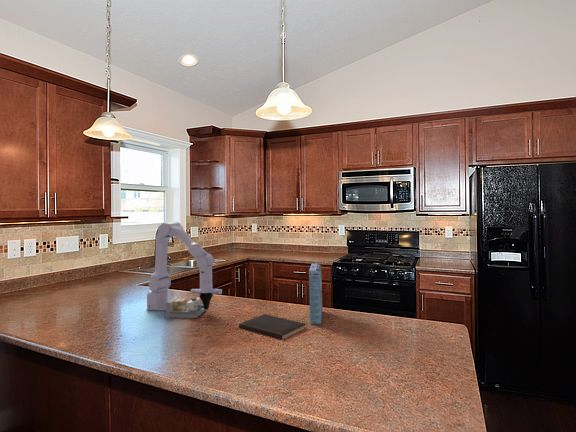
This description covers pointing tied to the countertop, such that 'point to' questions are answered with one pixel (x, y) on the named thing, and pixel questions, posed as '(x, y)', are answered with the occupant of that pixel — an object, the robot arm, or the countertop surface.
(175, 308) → the block
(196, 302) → the sliding jaw
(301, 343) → the countertop surface
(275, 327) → the hardcover book
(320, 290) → the gum box
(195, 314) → the base
